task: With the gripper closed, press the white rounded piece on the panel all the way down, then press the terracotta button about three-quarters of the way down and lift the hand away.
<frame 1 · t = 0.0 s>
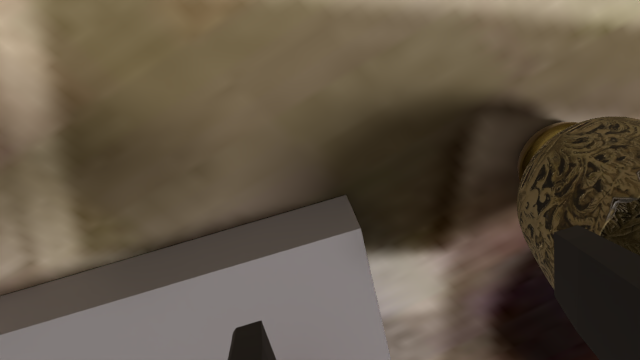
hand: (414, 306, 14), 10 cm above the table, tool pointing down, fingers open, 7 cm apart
cup: (547, 153, 25), on the table
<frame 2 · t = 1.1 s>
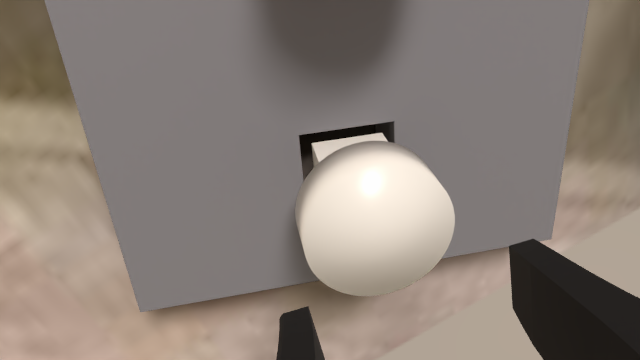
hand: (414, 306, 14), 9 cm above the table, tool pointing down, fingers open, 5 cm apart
button panel: (326, 20, 19), on the table
white rounded piece: (363, 199, 18), point 4 cm above the table, slide at 0.0 cm
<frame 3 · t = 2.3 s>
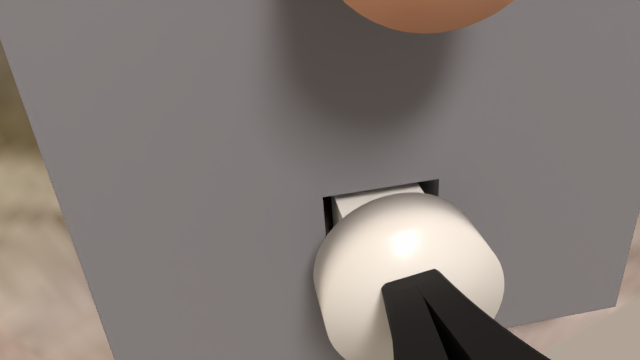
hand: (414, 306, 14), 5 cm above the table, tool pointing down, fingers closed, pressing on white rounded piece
button panel: (355, 54, 16), on the table
white rounded piece: (392, 256, 15), point 3 cm above the table, slide at 1.0 cm, touching gripper
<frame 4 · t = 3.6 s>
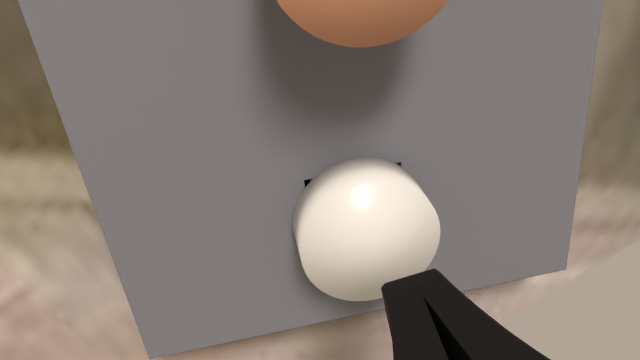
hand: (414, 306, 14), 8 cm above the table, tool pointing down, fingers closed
button panel: (328, 60, 19), on the table
white rounded piece: (356, 210, 19), point 2 cm above the table, slide at 2.0 cm
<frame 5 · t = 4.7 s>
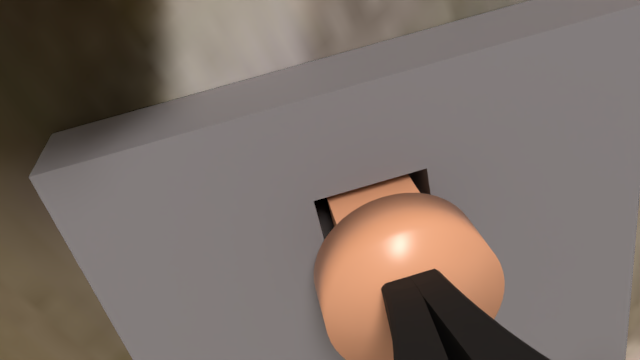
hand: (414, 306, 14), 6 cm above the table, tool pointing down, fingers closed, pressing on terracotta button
button panel: (381, 290, 21), on the table
terracotta button: (392, 256, 15), point 4 cm above the table, slide at 0.7 cm, touching gripper
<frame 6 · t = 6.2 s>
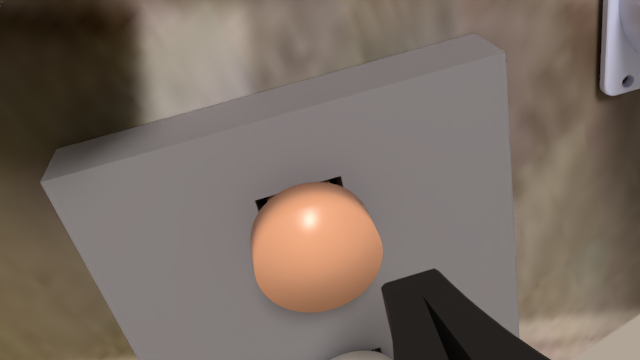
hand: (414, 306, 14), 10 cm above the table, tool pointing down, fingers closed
button panel: (321, 272, 26), on the table
terracotta button: (309, 229, 21), point 3 cm above the table, slide at 1.5 cm
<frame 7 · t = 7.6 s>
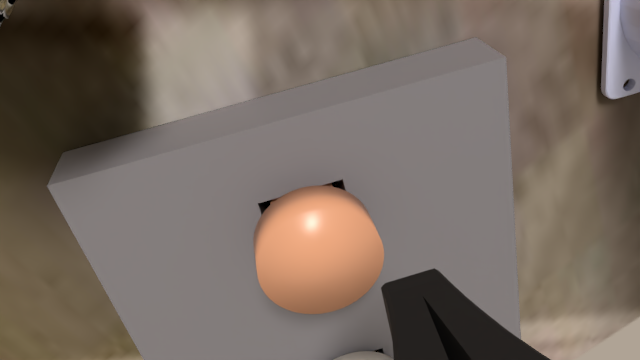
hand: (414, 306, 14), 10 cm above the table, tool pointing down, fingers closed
button panel: (323, 274, 26), on the table
terracotta button: (312, 231, 21), point 3 cm above the table, slide at 1.5 cm
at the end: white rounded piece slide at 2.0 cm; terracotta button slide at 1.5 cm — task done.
